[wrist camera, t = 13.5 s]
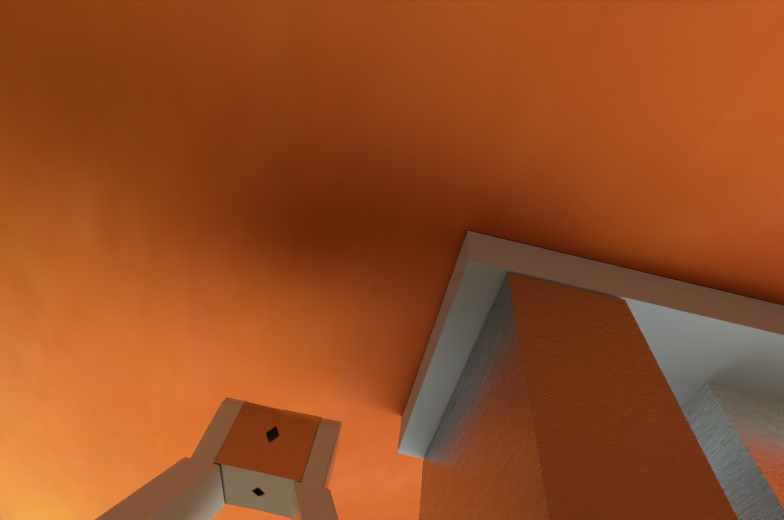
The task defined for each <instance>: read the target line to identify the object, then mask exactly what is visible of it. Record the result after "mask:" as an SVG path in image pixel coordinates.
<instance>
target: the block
mask: <svg viewBox="0 0 784 520" xmlns="http://www.w3.org/2000/svg"><path fill="white" fill-rule="evenodd" d="M681 409H682V411H683V413H684V415H685V417H686V419H687V421H688V423H689V425H690V427H691V429H692V431H693V433H694V435H695V437H696V438H697V440H698V442H699V444H700V446H701V448H702V450H703V452H704V454H705V456H706V458H707V460H708V462H709V464H710V466H711V468H712V470H713V472H714V473H715V475H716V477H717V479H718V481H719V483H720V485H721V487H722V489H723V491H724V493H725V495H726V497H727V499H728V501H729V503H730V505H731V506H732V508H733V510H734V512H735V514H736V516H737V518H738V520H784V399H780V398H776V397H771V396H767V395H763V394H759V393H754V392H750V391H746V390H742V389H738V388H733V387H729V386H725V385H721V384H716V383H712V382H708V381H705V382H704V383H703V384H702V385H701V386H700V387H699V388H698V389H697V390H696V391H695V392H694V393H693V394H692V395H691V397H690V398H689V399H688V400H687V401H686V402H685V403H684V404H683V405H682V406H681Z"/></svg>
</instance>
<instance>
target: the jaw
mask: <svg viewBox="0 0 784 520" xmlns="http://www.w3.org/2000/svg"><path fill="white" fill-rule="evenodd" d="M419 520H738V518H737V516H736V514H735V512H734V510H733V508H732V506H731V505H730V503H729V501H728V499H727V497H726V495H725V493H724V491H723V489H722V487H721V485H720V483H719V481H718V479H717V477H716V475H715V473H714V472H713V470H712V468H711V466H710V464H709V462H708V460H707V458H706V456H705V454H704V452H703V450H702V448H701V446H700V444H699V442H698V440H697V438H696V437H695V435H694V433H693V431H692V429H691V427H690V425H689V423H688V421H687V419H686V417H685V415H684V413H683V411H682V409H681V407H680V405H679V404H678V402H677V400H676V398H675V396H674V394H673V392H672V390H671V388H670V386H669V384H668V382H667V380H666V378H665V376H664V374H663V372H662V370H661V369H660V367H659V365H658V363H657V361H656V359H655V357H654V355H653V353H652V351H651V349H650V347H649V345H648V343H647V341H646V339H645V337H644V335H643V334H642V332H641V330H640V328H639V326H638V324H637V322H636V320H635V318H634V316H633V314H632V312H631V310H630V308H629V306H628V304H627V302H626V301H625V300H624V299H620V298H616V297H611V296H607V295H603V294H599V293H594V292H590V291H586V290H582V289H578V288H573V287H569V286H565V285H561V284H557V283H552V282H548V281H544V280H540V279H535V278H531V277H527V276H523V275H519V274H514V273H510V272H508V273H507V275H506V277H505V279H504V282H503V284H502V286H501V288H500V291H499V293H498V295H497V297H496V300H495V302H494V304H493V306H492V308H491V311H490V313H489V315H488V317H487V320H486V322H485V324H484V326H483V329H482V331H481V333H480V335H479V338H478V340H477V342H476V344H475V347H474V349H473V351H472V353H471V355H470V358H469V360H468V362H467V364H466V367H465V369H464V371H463V373H462V376H461V378H460V380H459V382H458V385H457V387H456V389H455V391H454V394H453V396H452V398H451V400H450V402H449V405H448V407H447V409H446V411H445V414H444V416H443V418H442V420H441V423H440V425H439V427H438V429H437V432H436V434H435V436H434V438H433V440H432V443H431V445H430V447H429V449H428V452H427V454H426V456H425V458H424V461H423V471H422V485H421V499H420V513H419Z"/></svg>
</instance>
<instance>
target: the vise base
mask: <svg viewBox="0 0 784 520" xmlns="http://www.w3.org/2000/svg"><path fill="white" fill-rule="evenodd" d="M508 272H510V273H514V274H519V275H523V276H527V277H531V278H535V279H540V280H544V281H548V282H552V283H557V284H561V285H565V286H569V287H573V288H578V289H582V290H586V291H590V292H594V293H599V294H603V295H607V296H611V297H616V298H620V299H624V300H625V301H626V302H627V304H628V306H629V308H630V310H631V312H632V314H633V316H634V318H635V320H636V322H637V324H638V326H639V328H640V330H641V332H642V334H643V335H644V337H645V339H646V341H647V343H648V345H649V347H650V349H651V351H652V353H653V355H654V357H655V359H656V361H657V363H658V365H659V367H660V369H661V370H662V372H663V374H664V376H665V378H666V380H667V382H668V384H669V386H670V388H671V390H672V392H673V394H674V396H675V398H676V400H677V402H678V404H679V405H680V407H681V406H682V405H683V404H684V403H685V402H686V401H687V400H688V399H689V398H690V397H691V395H692V394H693V393H694V392H695V391H696V390H697V389H698V388H699V387H700V386H701V385H702V384H703V383H704V382H705V381H708V382H712V383H716V384H721V385H725V386H729V387H733V388H738V389H742V390H746V391H750V392H754V393H759V394H763V395H767V396H771V397H776V398H780V399H784V305H779V304H775V303H771V302H767V301H763V300H758V299H754V298H750V297H746V296H742V295H737V294H733V293H729V292H725V291H720V290H716V289H712V288H708V287H704V286H699V285H695V284H691V283H687V282H683V281H678V280H674V279H670V278H666V277H661V276H657V275H653V274H649V273H645V272H640V271H636V270H632V269H628V268H624V267H619V266H615V265H611V264H607V263H602V262H598V261H594V260H590V259H586V258H581V257H577V256H573V255H569V254H565V253H560V252H556V251H552V250H548V249H543V248H539V247H535V246H531V245H527V244H522V243H518V242H514V241H510V240H506V239H501V238H497V237H493V236H489V235H484V234H480V233H476V232H472V231H468V230H467V233H466V236H465V239H464V242H463V245H462V248H461V250H460V253H459V256H458V259H457V262H456V265H455V267H454V270H453V273H452V276H451V279H450V282H449V285H448V287H447V290H446V293H445V296H444V299H443V302H442V305H441V307H440V310H439V313H438V316H437V319H436V322H435V324H434V327H433V330H432V333H431V336H430V339H429V342H428V344H427V347H426V350H425V353H424V356H423V359H422V362H421V364H420V367H419V370H418V373H417V376H416V379H415V381H414V384H413V387H412V390H411V393H410V396H409V399H408V401H407V404H406V407H405V410H404V413H403V416H402V420H401V428H400V436H399V443H398V451H397V453H401V454H406V455H410V456H414V457H418V458H423V459H424V458H425V456H426V454H427V452H428V449H429V447H430V445H431V443H432V440H433V438H434V436H435V434H436V432H437V429H438V427H439V425H440V423H441V420H442V418H443V416H444V414H445V411H446V409H447V407H448V405H449V402H450V400H451V398H452V396H453V394H454V391H455V389H456V387H457V385H458V382H459V380H460V378H461V376H462V373H463V371H464V369H465V367H466V364H467V362H468V360H469V358H470V355H471V353H472V351H473V349H474V347H475V344H476V342H477V340H478V338H479V335H480V333H481V331H482V329H483V326H484V324H485V322H486V320H487V317H488V315H489V313H490V311H491V308H492V306H493V304H494V302H495V300H496V297H497V295H498V293H499V291H500V288H501V286H502V284H503V282H504V279H505V277H506V275H507V273H508Z"/></svg>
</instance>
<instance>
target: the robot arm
mask: <svg viewBox="0 0 784 520" xmlns="http://www.w3.org/2000/svg"><path fill="white" fill-rule="evenodd" d="M340 430H341V422H340V421H335V420H330V419H325V418H322V417H318V416H313V415H308V414H303V413H298V412H293V411H288V410H282V409H277V408H272V407H268V406H263V405H259V404H254V403H249V402H247V401H242V400H237V399H233V398H228V397H227V398H226V399H225V400H224V401H223V402H222V403H221V405H220V406H219V408H218V410H217V412H216V414H215V415H214V417H213V419H212V421H211V423H210V424H209V426H208V428H207V430H206V431H205V433H204V435H203V437H202V439H201V440H200V442H199V444H198V446H197V448H196V449H195V451H194V453H193V455H192V457H191V458H186V457H184V458H183V459H181V460H180V461H178V462H177V463H176V464H174V465H173V466H171V467H170V468H168V469H167V470H166V471H164V472H163V473H161V474H160V475H158V476H157V477H156V478H154V479H153V480H151V481H150V482H148V483H147V484H146V485H144V486H143V487H141V488H140V489H138V490H137V491H136V492H134V493H133V494H131V495H130V496H128V497H127V498H126V499H124V500H123V501H121V502H120V503H118V504H117V505H116V506H114V507H113V508H111V509H110V510H108V511H107V512H105V513H104V514H103V515H101V516H100V517H98V518H97V519H95V520H211V519H212V518H213V517H214V516H215V515H216V514H217V513H218V512H219V511H220V510H221V509H222V508H223V507H224V506H225V504H230V505H236V506H241V507H246V508H251V509H256V510H261V511H265V512H269V513H273V514H277V515H281V516H285V517H289V518H292V520H338V517H337V513H336V510H335V506H334V503H333V499H332V496H331V492H330V489H328V487H329V483H330V479H331V475H332V471H333V467H334V462H335V458H336V453H337V448H338V442H339V436H340Z"/></svg>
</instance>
